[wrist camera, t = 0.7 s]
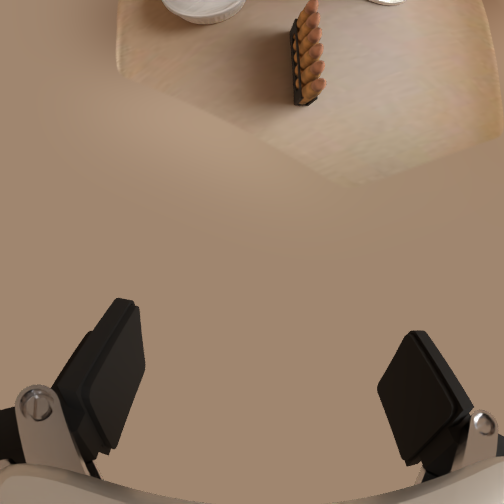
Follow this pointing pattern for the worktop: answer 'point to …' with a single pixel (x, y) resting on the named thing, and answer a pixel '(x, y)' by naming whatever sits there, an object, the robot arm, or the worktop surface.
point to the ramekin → (204, 9)
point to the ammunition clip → (307, 55)
